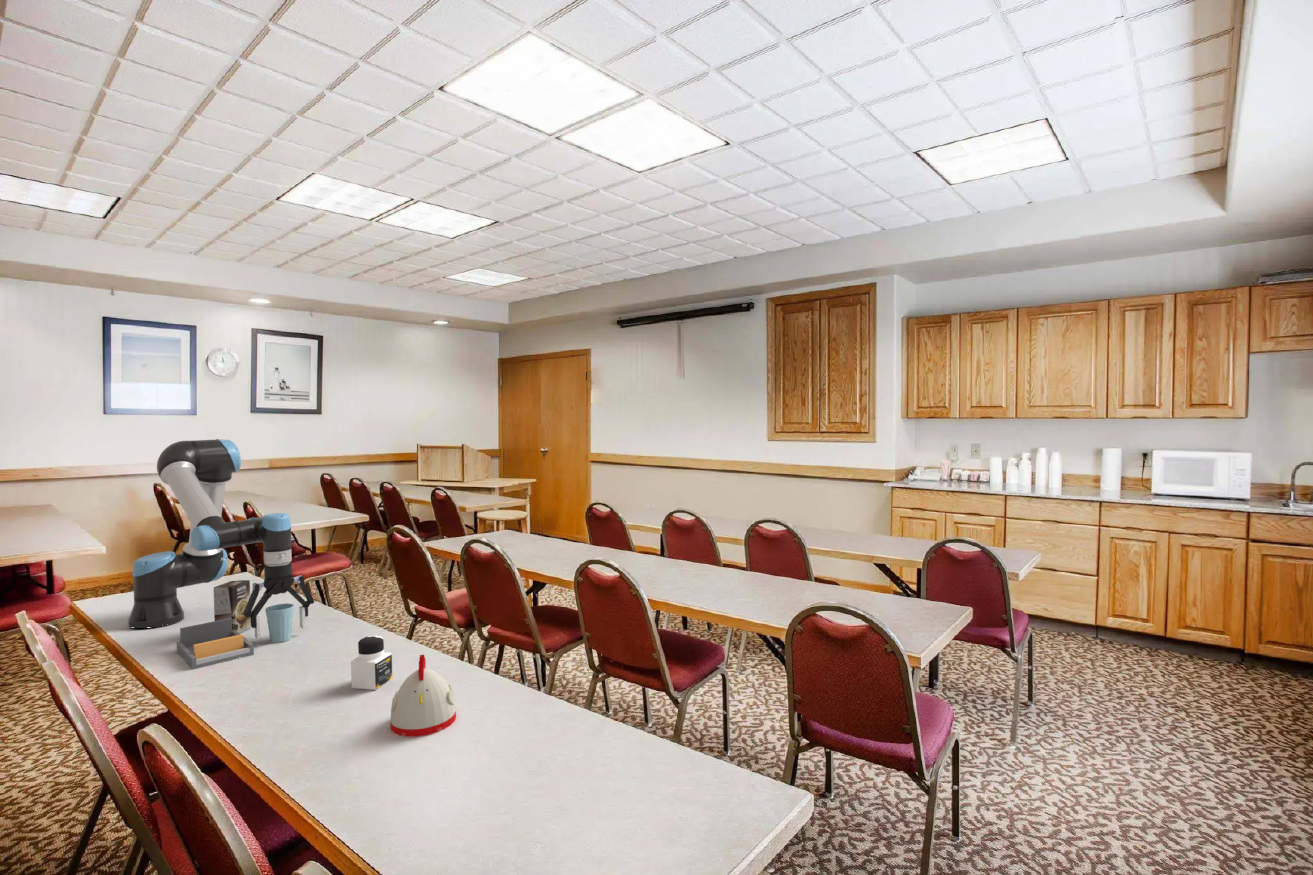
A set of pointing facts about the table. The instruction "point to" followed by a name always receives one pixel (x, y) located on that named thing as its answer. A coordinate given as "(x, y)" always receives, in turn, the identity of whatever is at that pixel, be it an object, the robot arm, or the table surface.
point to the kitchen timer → (422, 704)
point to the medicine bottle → (371, 664)
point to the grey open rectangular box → (206, 634)
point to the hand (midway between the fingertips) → (280, 632)
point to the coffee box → (233, 603)
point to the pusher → (218, 646)
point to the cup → (280, 622)
